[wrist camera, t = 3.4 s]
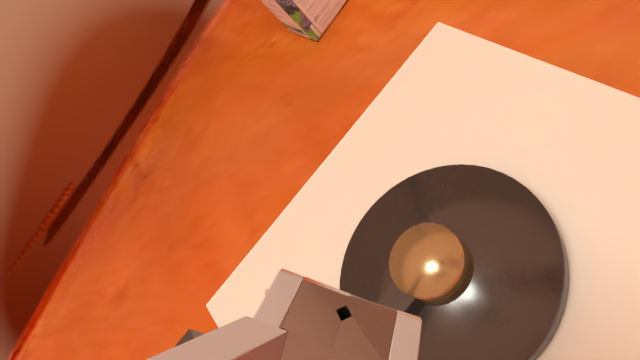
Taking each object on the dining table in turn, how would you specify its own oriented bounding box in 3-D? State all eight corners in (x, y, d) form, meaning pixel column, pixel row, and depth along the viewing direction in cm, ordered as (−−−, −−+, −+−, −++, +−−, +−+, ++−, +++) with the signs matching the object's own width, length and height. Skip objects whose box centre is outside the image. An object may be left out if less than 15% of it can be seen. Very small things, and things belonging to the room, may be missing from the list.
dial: (441, 139, 37) (338, 18, 28) (628, 252, 27) (566, 123, 18) (261, 354, 38) (104, 308, 29) (378, 542, 28) (195, 563, 19)
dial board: (448, 37, 44) (436, 19, 42) (938, 233, 22) (952, 212, 21) (222, 311, 45) (203, 304, 44) (480, 741, 24) (461, 759, 22)
